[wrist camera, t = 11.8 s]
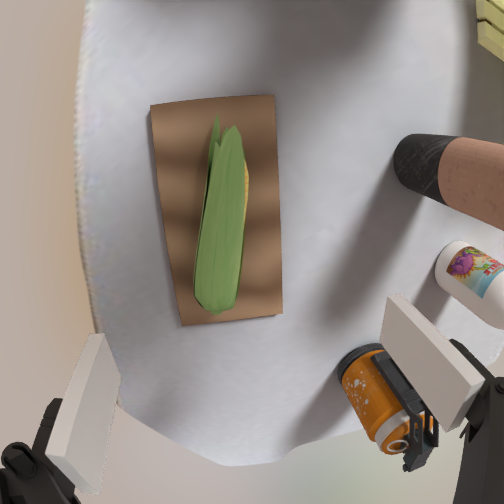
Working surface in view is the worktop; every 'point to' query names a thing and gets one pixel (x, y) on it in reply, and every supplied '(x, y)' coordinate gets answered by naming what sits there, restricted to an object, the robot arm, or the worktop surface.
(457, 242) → the milk bottle
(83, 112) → the worktop surface
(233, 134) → the edible corn
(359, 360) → the canister
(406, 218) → the worktop surface
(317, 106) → the worktop surface
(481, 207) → the travel mug
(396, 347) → the robot arm
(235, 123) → the serving board
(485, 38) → the slatted curved stool
